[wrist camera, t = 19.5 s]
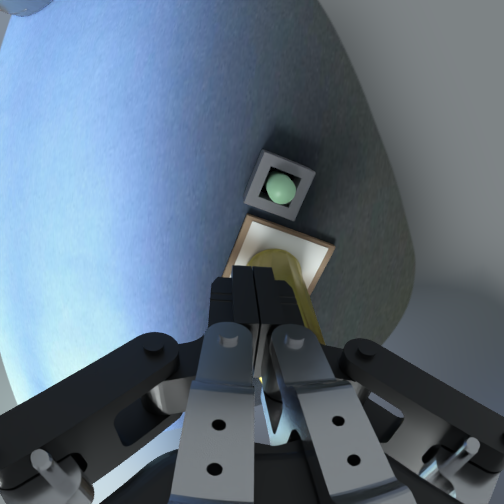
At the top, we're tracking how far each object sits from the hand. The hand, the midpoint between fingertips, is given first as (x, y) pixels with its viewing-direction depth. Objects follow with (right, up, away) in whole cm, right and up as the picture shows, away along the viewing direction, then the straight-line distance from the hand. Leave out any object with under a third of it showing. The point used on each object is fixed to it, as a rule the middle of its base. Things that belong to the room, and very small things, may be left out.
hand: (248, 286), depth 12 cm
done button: (+3, +8, +18) cm, 19 cm away
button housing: (+2, +8, +18) cm, 20 cm away
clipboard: (+2, -1, +22) cm, 22 cm away
